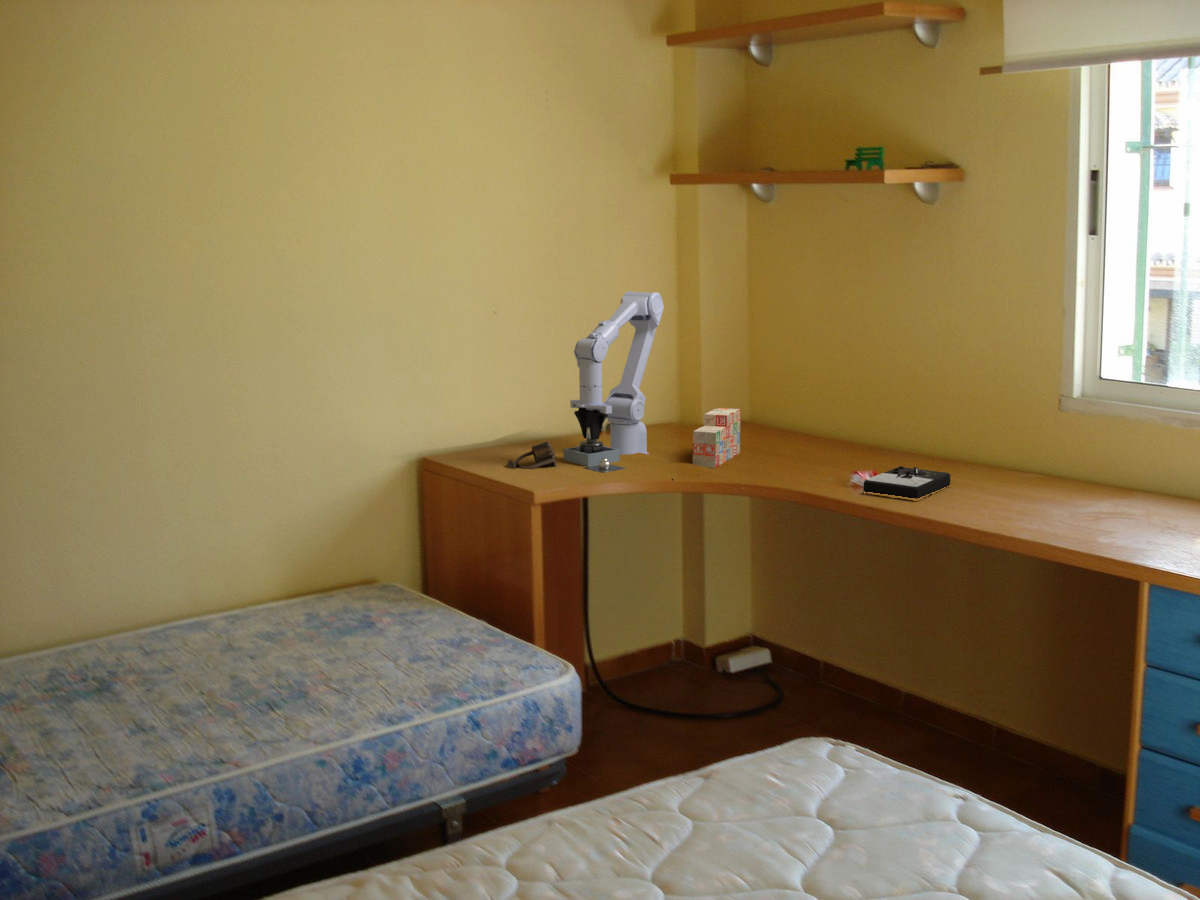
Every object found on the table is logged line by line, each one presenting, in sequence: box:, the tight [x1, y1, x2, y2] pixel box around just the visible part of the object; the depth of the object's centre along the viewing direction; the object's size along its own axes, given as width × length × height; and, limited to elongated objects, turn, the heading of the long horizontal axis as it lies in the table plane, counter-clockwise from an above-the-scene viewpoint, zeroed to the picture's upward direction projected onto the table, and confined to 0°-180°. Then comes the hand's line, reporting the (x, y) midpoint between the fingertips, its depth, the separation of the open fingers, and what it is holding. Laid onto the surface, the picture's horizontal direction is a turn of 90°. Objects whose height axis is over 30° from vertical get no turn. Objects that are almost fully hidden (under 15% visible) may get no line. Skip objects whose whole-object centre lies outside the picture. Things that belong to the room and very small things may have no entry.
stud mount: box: [583, 458, 628, 474], centre depth 307 cm, size 8×8×4 cm
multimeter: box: [862, 465, 951, 499], centre depth 284 cm, size 13×19×5 cm
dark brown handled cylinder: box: [506, 441, 558, 470], centre depth 310 cm, size 7×13×10 cm
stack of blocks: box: [692, 407, 741, 469], centre depth 320 cm, size 21×6×12 cm, turn 157°
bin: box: [563, 445, 620, 467], centre depth 316 cm, size 10×10×4 cm
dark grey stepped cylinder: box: [579, 426, 605, 454], centre depth 315 cm, size 6×6×8 cm
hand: (591, 438), depth 315 cm, fingers closed on dark grey stepped cylinder, 3 cm apart
